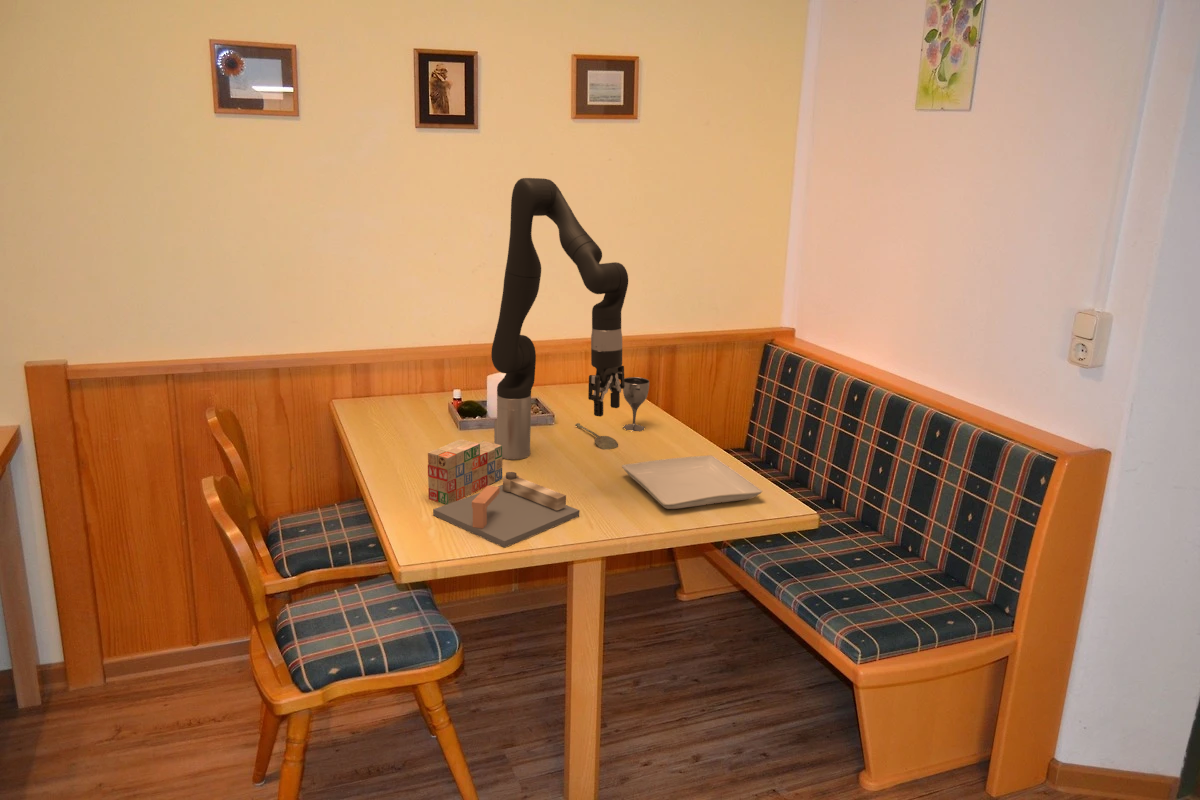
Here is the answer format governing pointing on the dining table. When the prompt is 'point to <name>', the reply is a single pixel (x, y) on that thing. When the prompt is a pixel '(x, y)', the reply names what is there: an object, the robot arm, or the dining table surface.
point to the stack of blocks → (462, 469)
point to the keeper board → (502, 516)
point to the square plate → (691, 481)
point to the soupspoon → (602, 439)
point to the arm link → (533, 491)
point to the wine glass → (635, 397)
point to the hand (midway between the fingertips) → (606, 411)
